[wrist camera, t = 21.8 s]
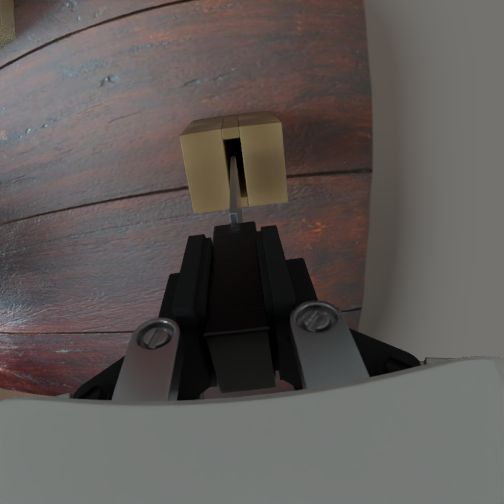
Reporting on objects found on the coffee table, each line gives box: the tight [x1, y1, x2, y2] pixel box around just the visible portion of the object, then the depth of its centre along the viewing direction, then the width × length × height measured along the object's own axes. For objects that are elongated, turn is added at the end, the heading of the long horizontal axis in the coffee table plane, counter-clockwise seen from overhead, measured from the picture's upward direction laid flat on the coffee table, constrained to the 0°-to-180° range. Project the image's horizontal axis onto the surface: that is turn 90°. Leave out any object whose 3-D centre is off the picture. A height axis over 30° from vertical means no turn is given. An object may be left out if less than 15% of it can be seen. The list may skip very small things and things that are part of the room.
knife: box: [203, 156, 277, 393], centre depth 15 cm, size 2×3×16 cm, turn 6°
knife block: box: [179, 111, 288, 214], centre depth 26 cm, size 7×6×8 cm
